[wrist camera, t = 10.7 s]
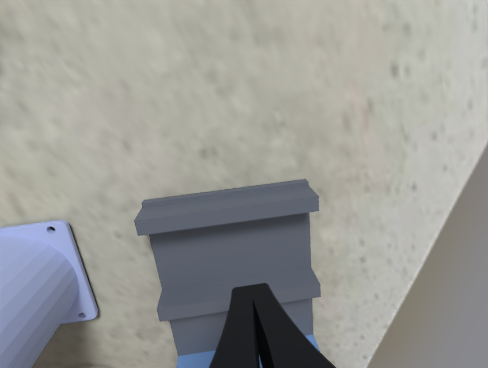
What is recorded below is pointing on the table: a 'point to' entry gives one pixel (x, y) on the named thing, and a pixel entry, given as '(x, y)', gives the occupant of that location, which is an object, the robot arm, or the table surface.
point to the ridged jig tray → (230, 258)
